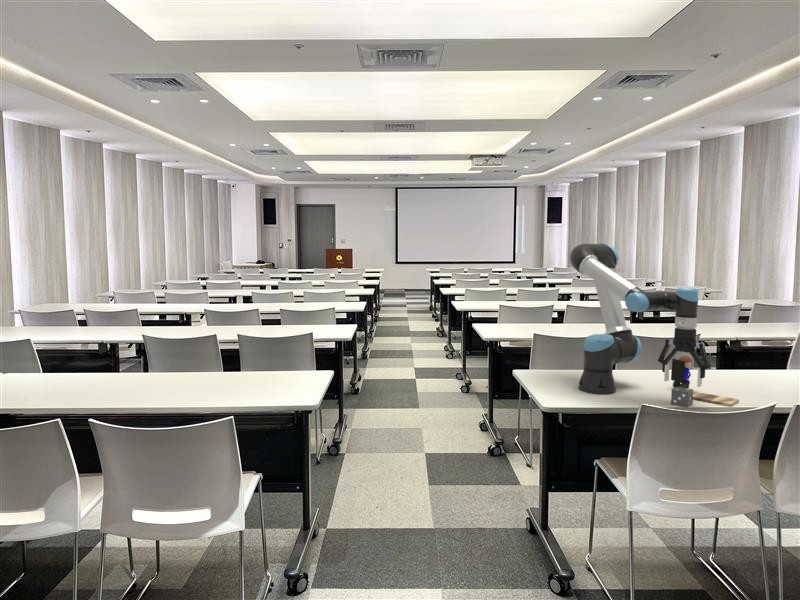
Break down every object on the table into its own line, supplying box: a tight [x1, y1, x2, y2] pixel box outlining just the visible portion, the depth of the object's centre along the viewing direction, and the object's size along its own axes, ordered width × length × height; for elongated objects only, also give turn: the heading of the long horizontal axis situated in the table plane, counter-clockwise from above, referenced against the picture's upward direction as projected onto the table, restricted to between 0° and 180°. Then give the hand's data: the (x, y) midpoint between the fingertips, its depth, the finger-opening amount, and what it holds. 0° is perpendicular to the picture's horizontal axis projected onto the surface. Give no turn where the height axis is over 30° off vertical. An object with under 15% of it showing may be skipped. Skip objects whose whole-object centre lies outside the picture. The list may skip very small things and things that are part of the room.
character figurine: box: [670, 355, 693, 389], centre depth 247 cm, size 8×7×15 cm
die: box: [670, 387, 694, 408], centre depth 226 cm, size 6×6×6 cm
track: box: [693, 390, 740, 408], centre depth 234 cm, size 21×10×1 cm, turn 44°
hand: (682, 383), depth 226 cm, fingers open, 11 cm apart
